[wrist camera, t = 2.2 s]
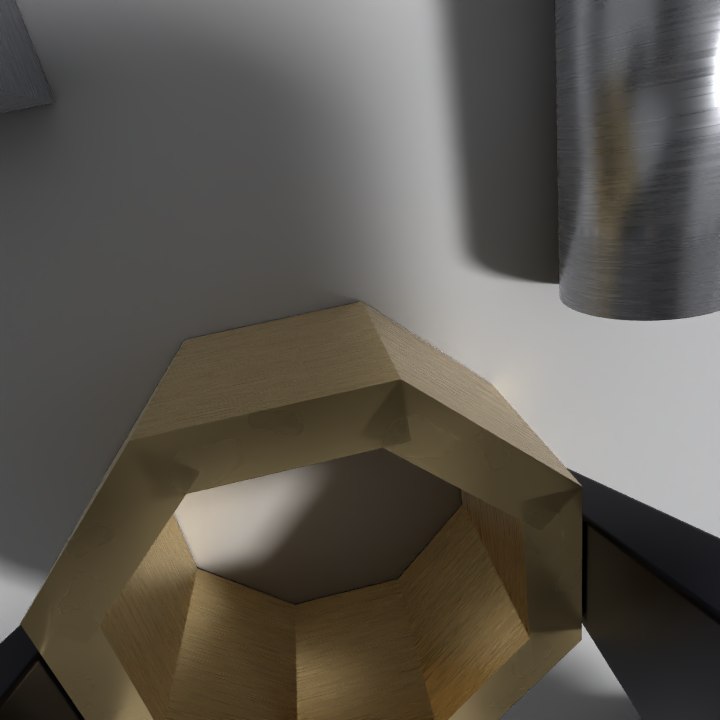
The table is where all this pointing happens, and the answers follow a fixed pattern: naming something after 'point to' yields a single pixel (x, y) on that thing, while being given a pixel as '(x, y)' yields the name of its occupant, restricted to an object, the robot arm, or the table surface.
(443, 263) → the table surface
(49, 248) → the table surface
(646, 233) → the steel pin
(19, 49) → the square base plate
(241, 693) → the collar ring
